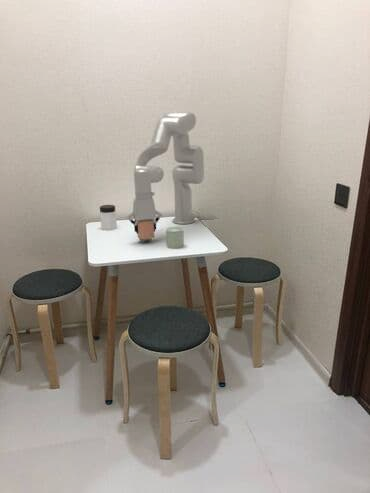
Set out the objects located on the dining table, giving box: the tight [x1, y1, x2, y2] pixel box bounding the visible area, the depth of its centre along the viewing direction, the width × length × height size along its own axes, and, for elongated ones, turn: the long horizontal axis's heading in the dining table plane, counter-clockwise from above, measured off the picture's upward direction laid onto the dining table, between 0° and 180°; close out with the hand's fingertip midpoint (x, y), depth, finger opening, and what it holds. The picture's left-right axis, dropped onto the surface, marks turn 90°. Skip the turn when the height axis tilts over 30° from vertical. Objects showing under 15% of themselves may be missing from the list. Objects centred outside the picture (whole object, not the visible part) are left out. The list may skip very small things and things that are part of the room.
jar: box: [99, 204, 118, 231], centre depth 212 cm, size 9×8×12 cm
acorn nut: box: [165, 226, 185, 249], centre depth 182 cm, size 8×8×8 cm
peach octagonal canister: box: [136, 219, 155, 240], centre depth 188 cm, size 8×8×8 cm
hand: (145, 231), depth 188 cm, fingers closed on peach octagonal canister, 7 cm apart
